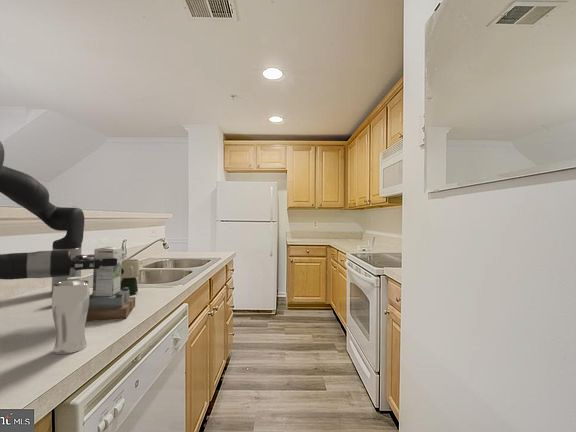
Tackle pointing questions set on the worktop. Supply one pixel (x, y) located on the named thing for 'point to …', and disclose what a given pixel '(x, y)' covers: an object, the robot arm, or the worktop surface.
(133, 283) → the character mug
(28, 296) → the worktop surface
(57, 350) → the beer glass
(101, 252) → the syrup box
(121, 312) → the tower base
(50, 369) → the worktop surface
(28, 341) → the worktop surface
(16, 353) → the worktop surface
